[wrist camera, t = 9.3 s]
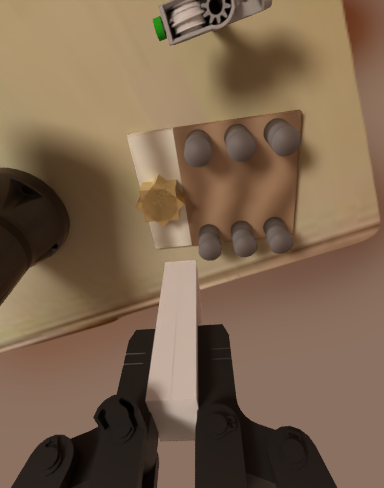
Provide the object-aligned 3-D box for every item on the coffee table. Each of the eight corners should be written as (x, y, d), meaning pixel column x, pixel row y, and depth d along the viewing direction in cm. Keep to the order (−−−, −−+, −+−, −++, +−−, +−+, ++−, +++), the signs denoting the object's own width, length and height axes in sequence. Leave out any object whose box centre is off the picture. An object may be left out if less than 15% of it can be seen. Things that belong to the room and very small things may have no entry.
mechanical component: (261, 15, 30) (284, 2, 22) (171, 50, 32) (161, 50, 24) (256, -20, 29) (279, -49, 20) (161, 18, 31) (148, 7, 22)
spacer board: (156, 245, 47) (151, 268, 42) (128, 134, 37) (117, 146, 32) (291, 231, 45) (302, 253, 40) (299, 109, 35) (315, 119, 30)
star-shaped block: (143, 218, 43) (140, 228, 41) (134, 176, 40) (130, 184, 37) (187, 215, 43) (187, 225, 40) (182, 172, 39) (181, 180, 37)
